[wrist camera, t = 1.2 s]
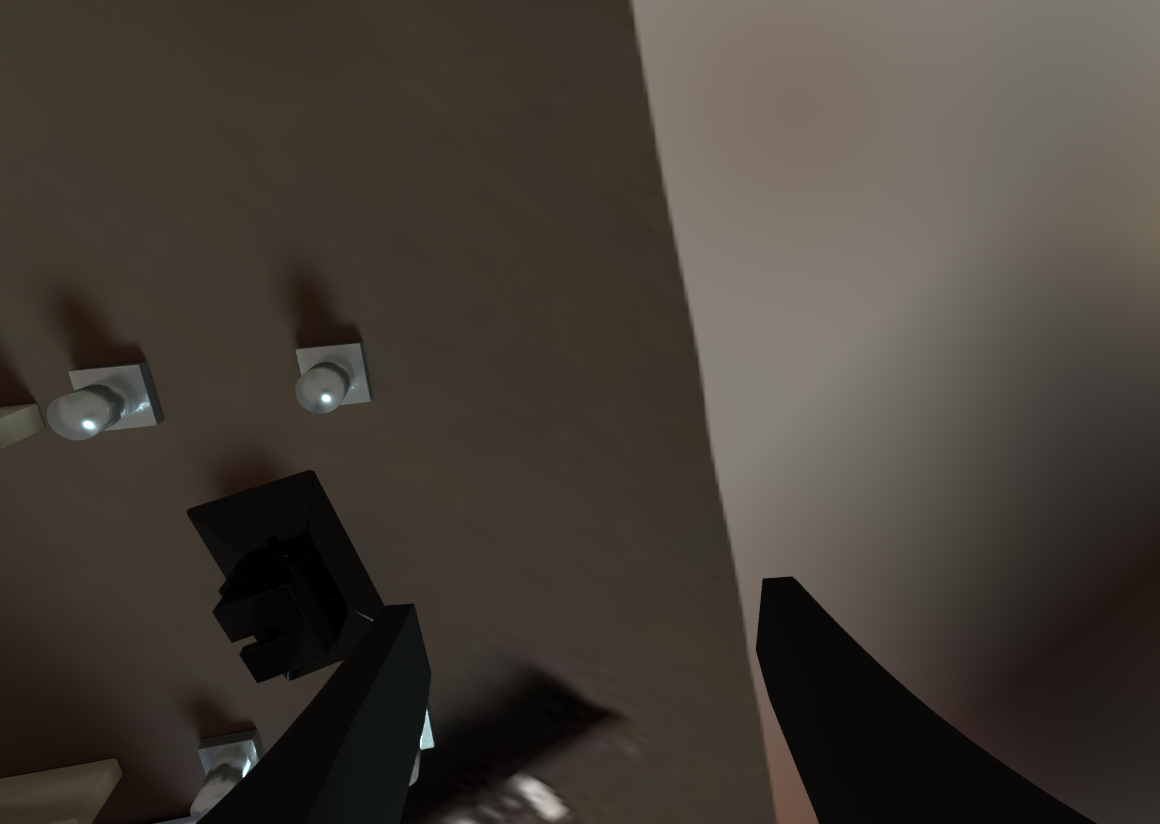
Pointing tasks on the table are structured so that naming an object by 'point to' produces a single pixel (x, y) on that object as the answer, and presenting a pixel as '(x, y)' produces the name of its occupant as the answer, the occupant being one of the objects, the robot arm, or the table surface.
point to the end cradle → (64, 795)
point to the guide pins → (133, 402)
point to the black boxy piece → (287, 576)
